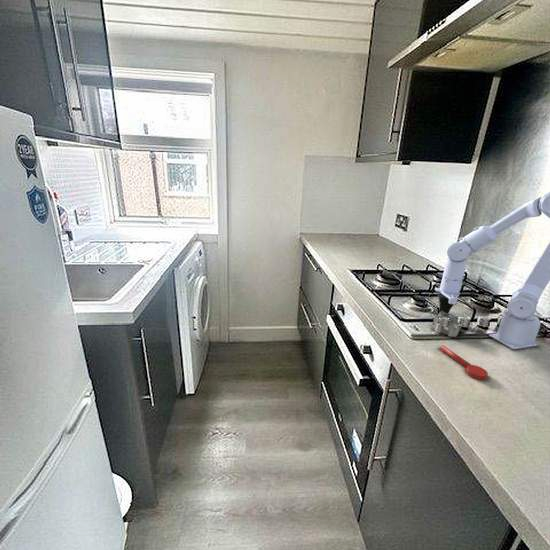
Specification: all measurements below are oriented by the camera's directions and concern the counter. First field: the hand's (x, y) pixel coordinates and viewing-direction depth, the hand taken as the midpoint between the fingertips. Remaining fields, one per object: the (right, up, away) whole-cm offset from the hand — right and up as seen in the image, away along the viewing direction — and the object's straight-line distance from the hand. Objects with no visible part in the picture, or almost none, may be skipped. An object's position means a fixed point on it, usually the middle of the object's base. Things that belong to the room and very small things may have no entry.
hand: (442, 315), depth 103 cm
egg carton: (-2, -4, -6) cm, 7 cm away
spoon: (-9, -9, -24) cm, 27 cm away
